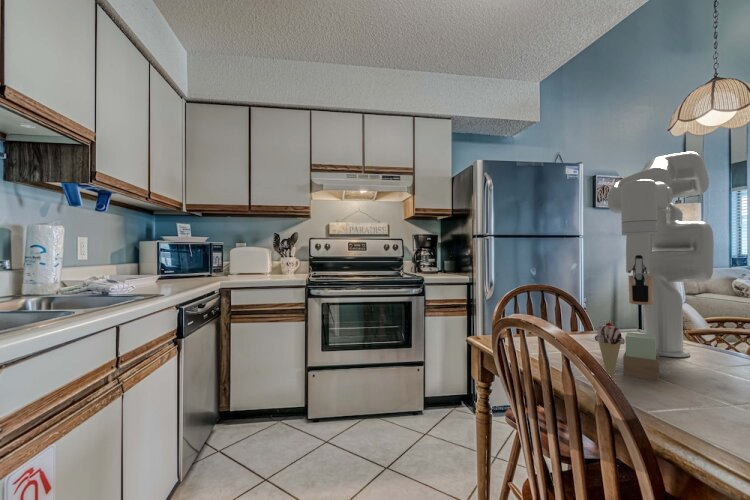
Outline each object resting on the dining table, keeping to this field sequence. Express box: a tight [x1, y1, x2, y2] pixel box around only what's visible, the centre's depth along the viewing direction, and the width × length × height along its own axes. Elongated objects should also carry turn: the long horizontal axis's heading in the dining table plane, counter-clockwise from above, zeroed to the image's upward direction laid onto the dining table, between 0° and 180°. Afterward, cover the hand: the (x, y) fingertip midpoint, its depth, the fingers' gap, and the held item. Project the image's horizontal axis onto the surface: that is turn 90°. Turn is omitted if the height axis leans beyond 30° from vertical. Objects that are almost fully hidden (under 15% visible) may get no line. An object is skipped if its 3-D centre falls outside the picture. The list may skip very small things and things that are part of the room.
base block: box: [622, 351, 660, 382], centre depth 93 cm, size 7×7×5 cm
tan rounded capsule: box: [627, 274, 653, 306], centre depth 94 cm, size 5×5×7 cm
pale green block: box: [625, 332, 656, 360], centre depth 93 cm, size 6×6×5 cm
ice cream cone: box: [594, 322, 626, 379], centre depth 84 cm, size 6×6×15 cm
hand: (641, 299), depth 93 cm, fingers closed on tan rounded capsule, 5 cm apart
